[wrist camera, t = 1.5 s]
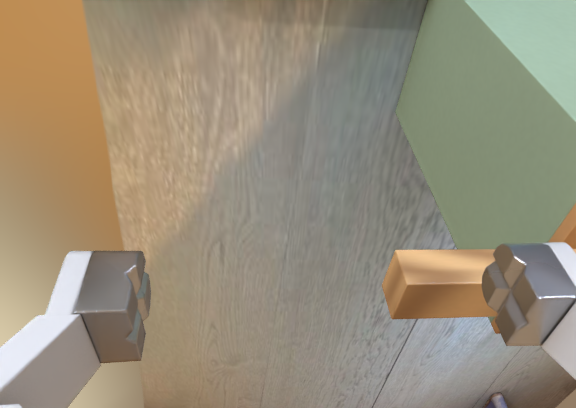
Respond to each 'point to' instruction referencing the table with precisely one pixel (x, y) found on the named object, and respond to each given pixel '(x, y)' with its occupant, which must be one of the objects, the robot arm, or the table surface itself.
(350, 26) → the table surface
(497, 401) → the flask
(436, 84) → the plinth
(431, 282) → the paddle
